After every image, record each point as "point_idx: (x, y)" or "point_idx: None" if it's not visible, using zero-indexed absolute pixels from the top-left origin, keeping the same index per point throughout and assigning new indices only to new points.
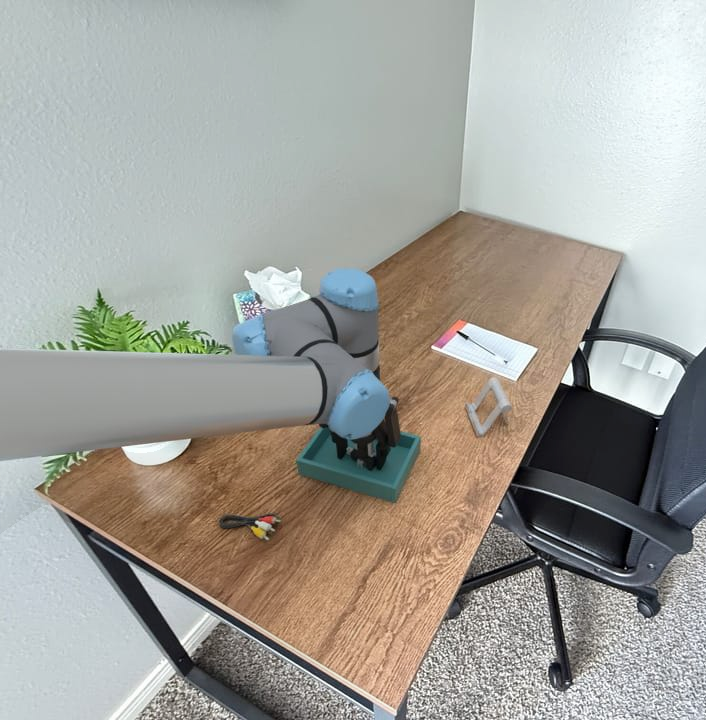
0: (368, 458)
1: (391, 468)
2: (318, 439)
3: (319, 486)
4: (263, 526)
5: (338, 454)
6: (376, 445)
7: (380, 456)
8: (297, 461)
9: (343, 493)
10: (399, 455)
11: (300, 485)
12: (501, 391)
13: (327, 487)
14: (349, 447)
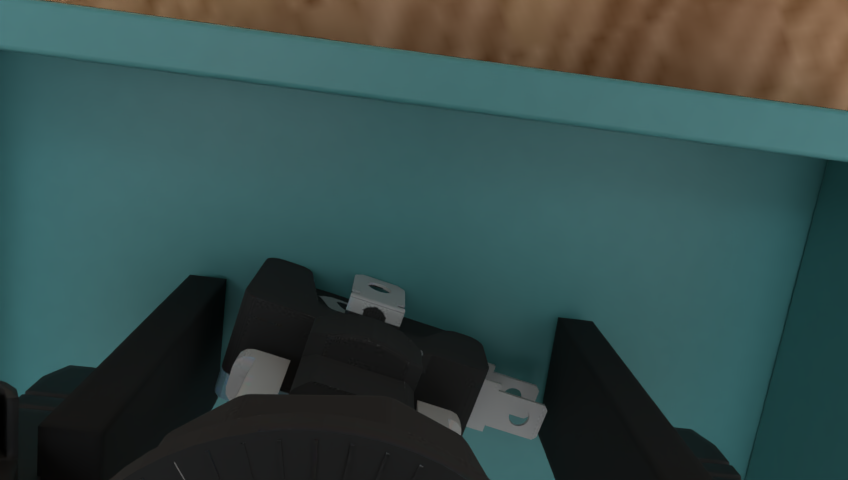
0: (283, 332)
1: (115, 321)
2: (834, 447)
3: (655, 36)
4: None
5: (596, 340)
6: (93, 445)
7: (119, 352)
8: None
9: (436, 5)
10: None
11: (812, 14)
12: None
13: (587, 39)
14: (522, 434)
